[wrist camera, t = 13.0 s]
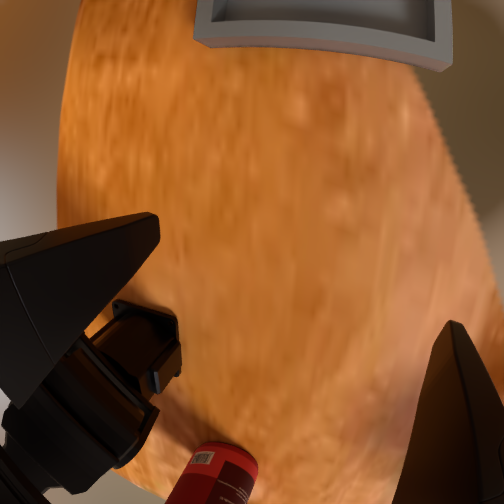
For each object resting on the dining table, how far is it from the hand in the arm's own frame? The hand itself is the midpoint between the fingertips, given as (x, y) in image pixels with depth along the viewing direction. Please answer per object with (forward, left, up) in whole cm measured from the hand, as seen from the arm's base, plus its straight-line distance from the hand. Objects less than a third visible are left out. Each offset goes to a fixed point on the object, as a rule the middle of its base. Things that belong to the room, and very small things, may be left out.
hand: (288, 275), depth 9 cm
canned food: (-5, -30, -12) cm, 33 cm away
